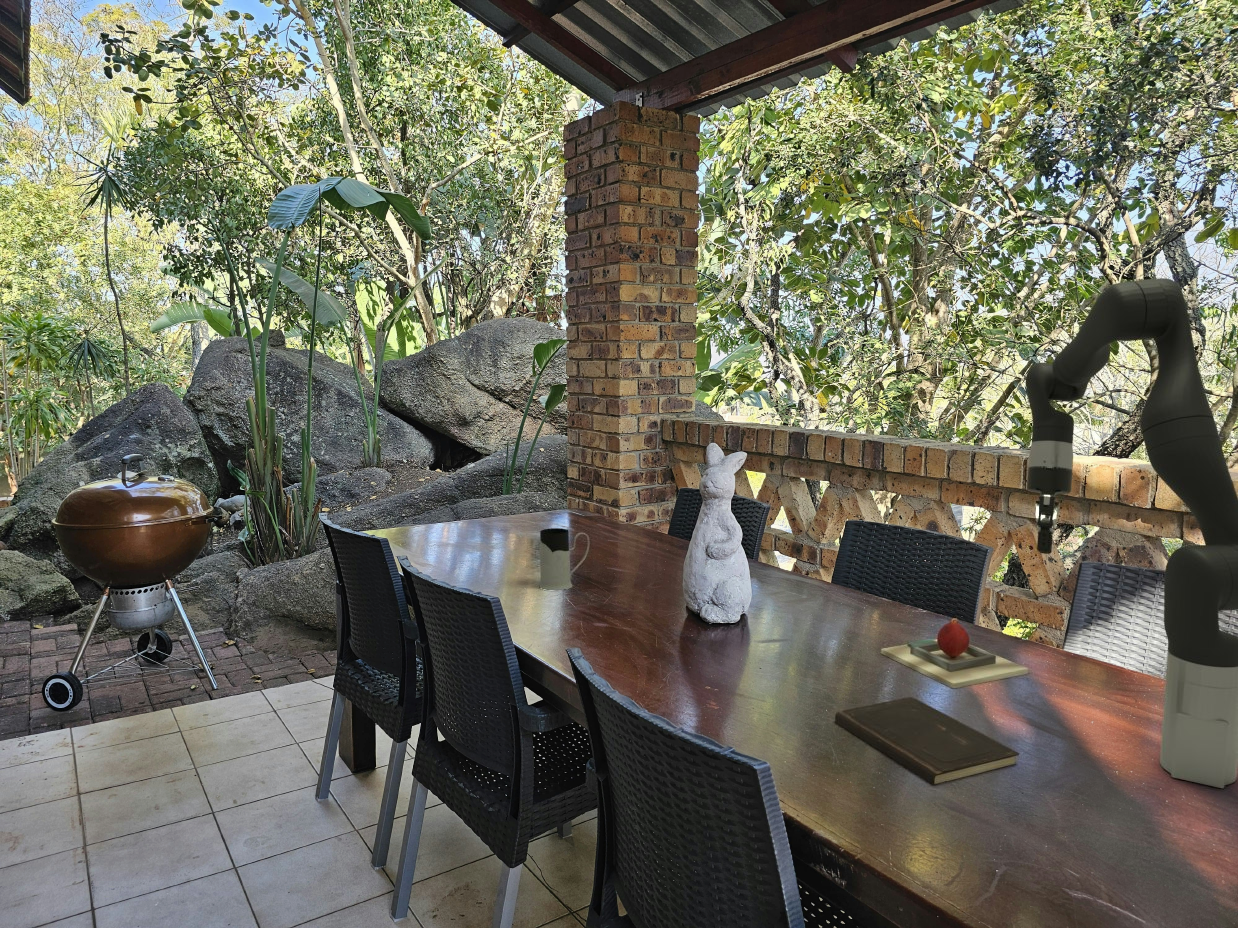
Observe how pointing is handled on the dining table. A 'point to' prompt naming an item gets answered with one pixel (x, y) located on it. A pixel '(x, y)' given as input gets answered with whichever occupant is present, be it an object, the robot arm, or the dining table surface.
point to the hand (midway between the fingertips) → (1044, 552)
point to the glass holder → (556, 558)
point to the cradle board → (953, 663)
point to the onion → (953, 639)
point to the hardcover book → (925, 739)
